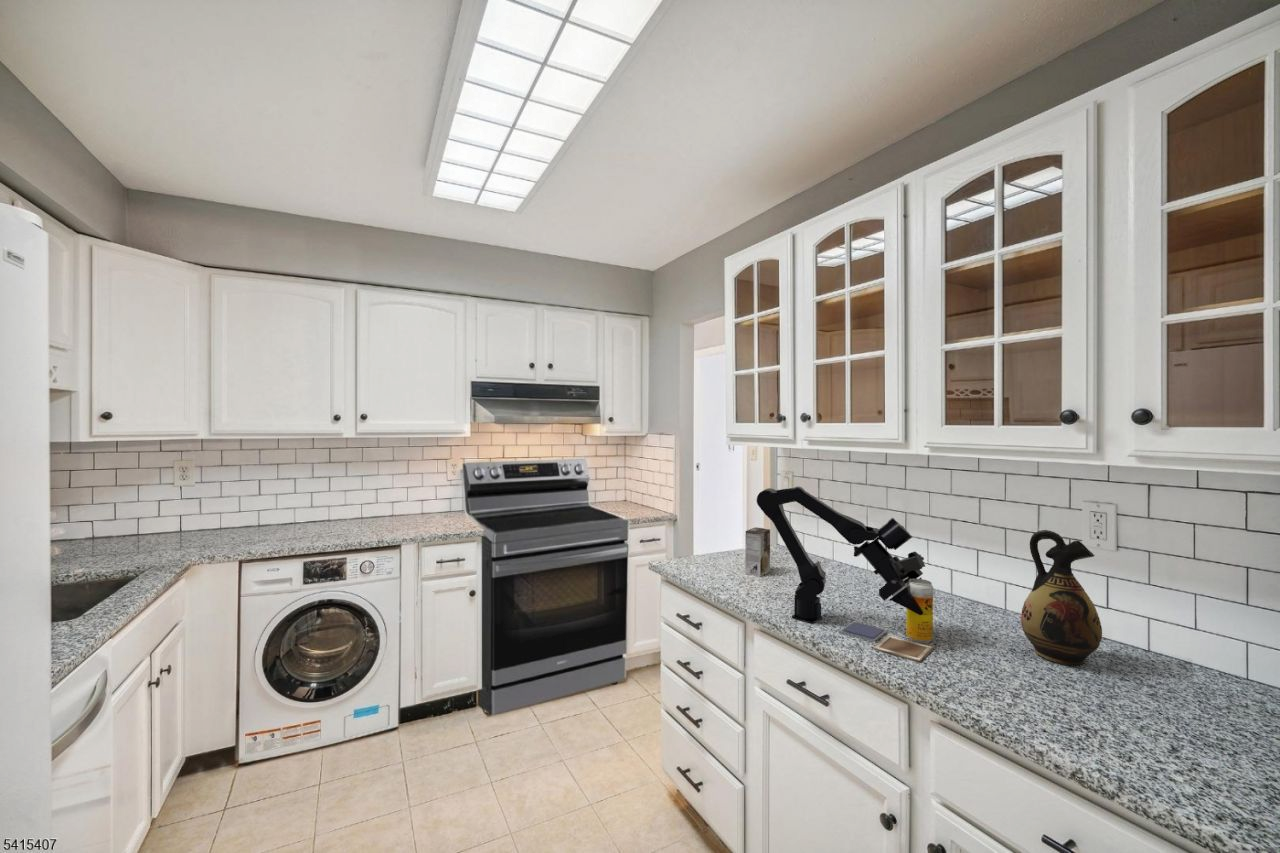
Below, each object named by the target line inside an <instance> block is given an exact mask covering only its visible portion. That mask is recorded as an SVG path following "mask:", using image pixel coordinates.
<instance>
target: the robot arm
mask: <svg viewBox="0 0 1280 853" xmlns="http://www.w3.org/2000/svg"><path fill="white" fill-rule="evenodd" d="M795 502H796V503H798V504H799V505H801V506H802V507H803V508H805V509H807V510H808V511H809V512H811V513H813V514H815V515H816V516H817V517H819V518H820V519H822V520H823V521H825V522H826V523H828V524H830V526H832V527H833V528H834V529H835V530H836V531H837V532H838V533H839V535H841V537H842V538H844V539H845V540H846V541H847V542H848V543H850V544H852V545H853V549H854V550H853V551H854V552H853V557H855V558H856V557H860V555H862V556H863V557H864V558H865V560H867V562H868V563H869V564H870V565H871V566H872V568H873V569H874V570H873V573H874V574H875V575H878V576H880V577H881V579H883V580H884V581H885V584H884V585H883V586H882V587H881V588H879V589H878V595H879V597H880V598H881V599H882V601H886V600H887V599H888V600H889V601H890V602H894V603H896V604H898V605H900V606H902V607H904V608H905V609H906V610H907V609H909V610H911V611H913V612H915V613H917V614H919V615H922V614H923V611H922V609H921V608H920V606H919V605H918V603H917V602H916V601H915V599H914V598H913V596H912V595H911V593H910V585H908V586H907V583H908V581H909V579H922V577H921V576H922V575H923V574H924V573H923V571H922V569H923V568H924V567H926V564H925V563H924V560H925V559H924V558H925V557H923V555H922V554H919V553H918V552H916V551H912V552H909V553H908V554H907V557H906V558H903V559H900V558H899V557H898V556H896V555H895V556H893V555H891V553H890V552H889V551H888V550H895V551H896V550H897V549H899V548H900V547H901V546H903V545H904V544H905V543H907V542H908V541H910V540H911V539H912V538H913V536H912V535H911V534H910V532H909V531H908V530H907V528H905V527H904V526H903V525H902V524H900V523H899V522H898V521H897V520H896V519H895V518H894V517H891V518H890V519H889V520H888V521H887V522H886V523H885V524H883V525H882V526H881V527H879V528H876V527H872V526H867V525H866V524H865V523H863V522H862V521H860V520H858V519H856V518H853V517H851V516H849V515H846V514H842V513H840V512H839V511H837V510H836V509H834V508H832V507H831V506H829V505H828V504H826V503H825V502H823V501H821V500H820V499H819V498H817V497H815V496H814V495H813V494H811V493H809V492H808V491H806V490H805V489H804V488H803V487H802V486H799V485H798V486H795V487H791V488H783V489H778V490H776V489H774V488H771V487H769V488H765V489H763V490H762V491H760V492H759V493H758V494H757V497H756V504H757V506H758V507H759V509H760V510H761V511H762V512H763V513H764V514H765V516H766V517H767V518H768V519H769V520H770V521H771V522H772V523H773V525H774V526H775V528H776V530H777V532H778V534H779V535H780V538H781V539H782V541H783V543H784V545H785V547H786V548H787V550H788V552H789V553H790V556H791V557H792V559H793V561H794V563H795V565H796V567H797V571H798V574H799V575H798V576H799V579H800V582H799V584H798V585H797V586H796V590H795V592H794V605H793V606H794V607H793V608H794V611H793V612H794V614H792V615H791V619H794V620H799V621H802V622H807V623H811V624H815V622H818V621H819V620H821V619H823V615H822V603H821V598H820V597H819V595H821V594H822V593H823V591H824V589H825V586H826V584H827V578H826V575H827V573H826V571H824V570H823V568H822V565H821V563H820V561H816V562H814V561H813V560H812V559H811V558H810V557H809V555H808V552H807V551H806V550H805V547H804V546H803V543H802V542H801V540H800V538H799V537H798V535H797V533H796V531H795V530H794V527H793V526H792V525H791V523H790V520H789V518H788V517H787V515H786V512H785V508H784V505H785V504H789V503H795ZM870 541H871V542H870ZM854 545H855V546H854ZM857 545H859V546H857ZM884 546H885V547H886V548H887V549H886V548H885V547H884ZM890 597H891V598H890Z"/></svg>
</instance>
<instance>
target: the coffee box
mask: <svg viewBox="0 0 1280 853" xmlns="http://www.w3.org/2000/svg"><path fill="white" fill-rule="evenodd" d="M744 547H745V552H744V553H745V560H744V561H745V562H744V563H745V565H744V566H745V568H744V569H745V570H744V573H745V574H744V575H747V574H749V576H752V575H754V576H753V577H758V576H761V577H763V576H765V575H767V574H769V573H770V572H771V529H768V528H763V527H758V526H757V527H752V528H750V529H747V530H745V546H744ZM769 571H770V572H769ZM764 574H765V575H764Z"/></svg>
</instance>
